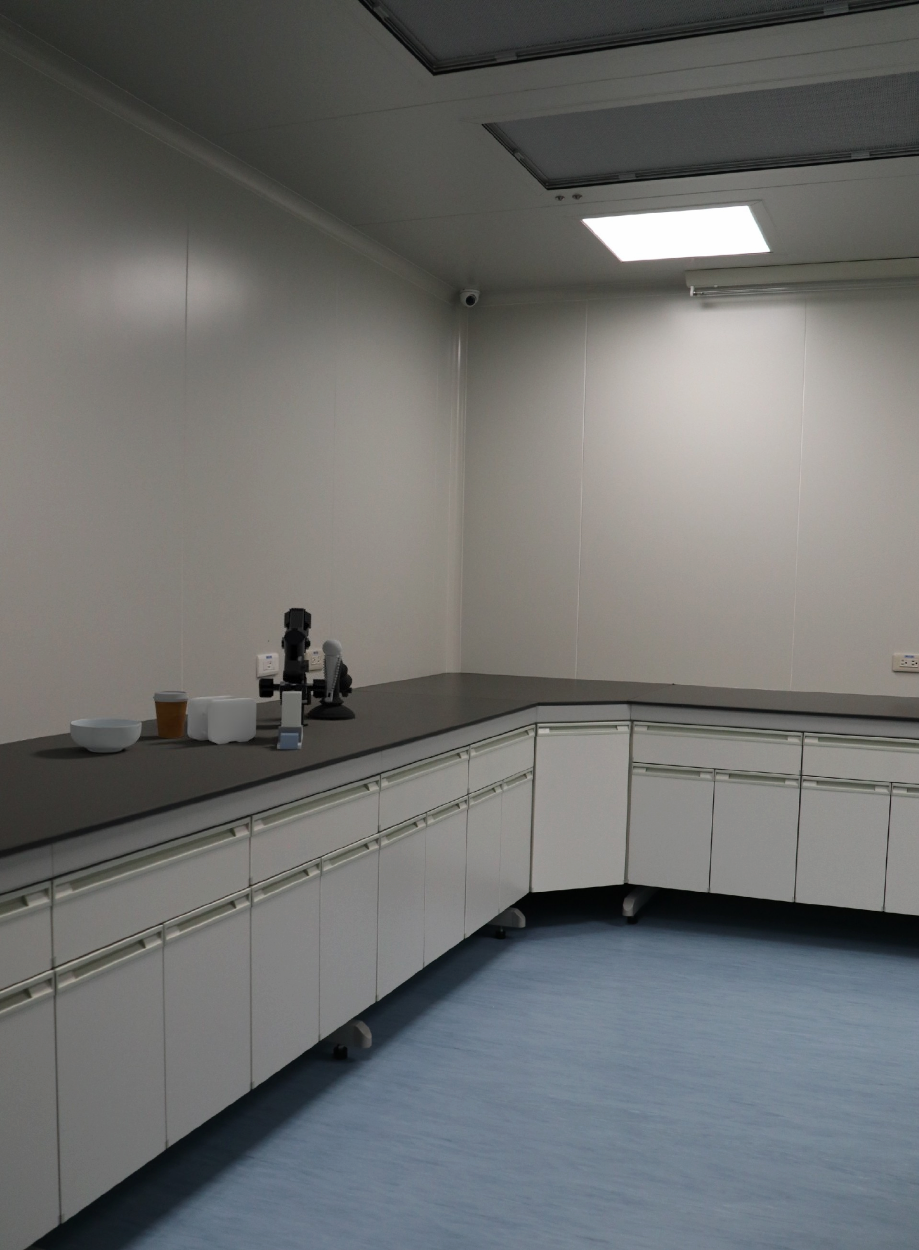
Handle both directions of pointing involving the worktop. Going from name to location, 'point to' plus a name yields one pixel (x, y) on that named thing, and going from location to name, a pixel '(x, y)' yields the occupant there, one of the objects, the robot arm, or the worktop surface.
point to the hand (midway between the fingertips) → (292, 711)
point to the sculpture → (334, 685)
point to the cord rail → (290, 737)
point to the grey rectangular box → (291, 708)
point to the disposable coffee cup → (170, 712)
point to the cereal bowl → (105, 733)
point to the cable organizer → (222, 719)
